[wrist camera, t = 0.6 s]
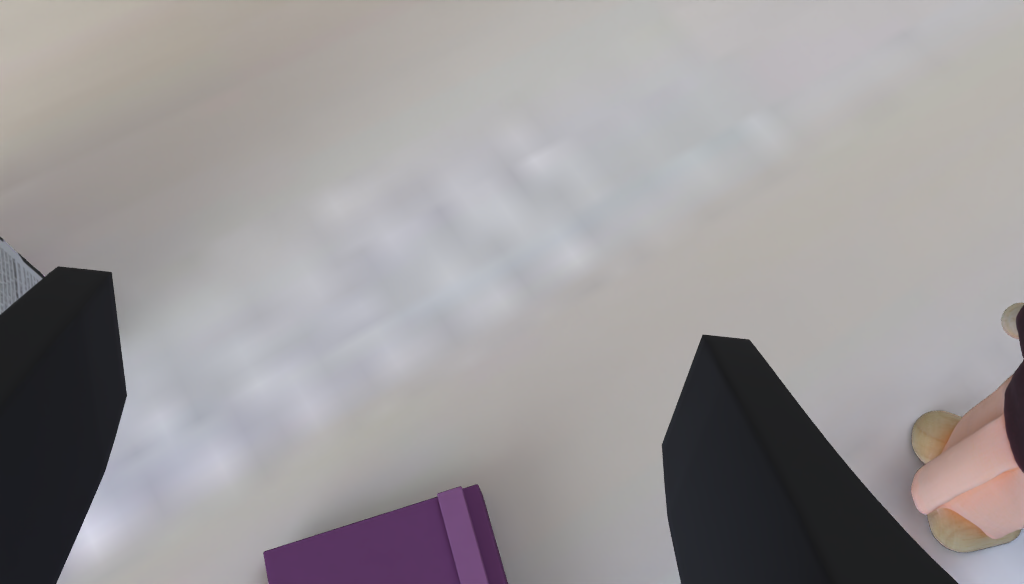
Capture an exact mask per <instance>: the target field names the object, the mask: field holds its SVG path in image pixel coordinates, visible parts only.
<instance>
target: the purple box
mask: <svg viewBox="0 0 1024 584" xmlns="http://www.w3.org/2000/svg"><path fill="white" fill-rule="evenodd" d="M437 496H438V497H435V498H432V499H429V500H426V501H422V502H419V503H416V504H413V505H410V506H407V507H403V508H400V509H397V510H394V511H391V512H388V513H384V514H381V515H378V516H375V517H372V518H369V519H365V520H362V521H359V522H356V523H353V524H350V525H346V526H343V527H340V528H337V529H334V530H331V531H328V532H324V533H321V534H318V535H315V536H312V537H309V538H305V539H302V540H299V541H296V542H293V543H290V544H286V545H283V546H280V547H277V548H274V549H271V550H267V551H265V552H264V553H263V554H264V559H265V565H266V571H267V577H268V582H269V584H508V582H507V578H506V575H505V571H504V568H503V564H502V561H501V557H500V554H499V550H498V547H497V543H496V540H495V537H494V533H493V530H492V526H491V523H490V519H489V516H488V512H487V509H486V505H485V502H484V498H483V495H482V492H481V490H480V488H479V486H478V484H476V485H473V486H470V487H467V488H463V489H462V487H461V486H460V487H457V488H453V489H450V490H447V491H444V492H441V493H438V494H437Z"/></svg>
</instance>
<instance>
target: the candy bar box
mask: <svg viewBox="0 0 1024 584" xmlns="http://www.w3.org/2000/svg"><path fill="white" fill-rule="evenodd" d="M43 278H44V276H43V275H42V274H41V273H40V272H39V271H38V270H37V269H36V268H35V267H33V266H32V265H31V264H30V263H29V262H28V261H27V260H26V259H25V258H23V257H22V256H21V255H20V254H19V253H17V252H16V251H15V250H14V249H13V248H12V247H11V246H10V245H9V244H8V243H7V242H6V241H5V240H4V239H2V238H1V237H0V314H1V313H3V312H4V311H5V310H6V309H7V308H8V307H10V306H11V305H12V304H13V303H14V302H16V301H17V300H18V299H19V298H20V297H21V296H23V295H24V294H25V293H26V292H27V291H28V290H30V289H31V288H32V287H33V286H34V285H35V284H37V283H38V282H39V281H40V280H42V279H43Z"/></svg>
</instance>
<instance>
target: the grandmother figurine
mask: <svg viewBox="0 0 1024 584" xmlns="http://www.w3.org/2000/svg"><path fill="white" fill-rule="evenodd" d="M1001 324H1002V327H1003V329H1004V331H1005V332H1006V333H1007V334H1008V335H1010V336H1011V337H1013V338H1016V339H1019V341H1020V346H1021V351H1022V356H1023V358H1024V303H1016V304H1013V305H1011V306H1010V307H1008V308H1007V309H1006V310H1005V311H1004V313H1003V315H1002V319H1001ZM912 446H913V449H914V451H915V453H916V454H917V456H918V457H919V459H920V460H921V461H922V462H924V463H925V465H923V466H922V467H921V468H920V469H919V470H918V471H917V472H916V474H915V476H914V479H913V482H912V487H911V493H912V497H913V501H914V503H915V505H916V508H917V509H918V510H919V511H920V512H921V513H923V514H925V515H927V516H928V521H929V526H930V529H931V531H932V533H933V535H934V537H935V538H936V539H937V540H938V541H939V542H940V543H941V544H942V545H943V546H944V547H946V548H948V549H950V550H953V551H956V552H972V551H976V550H981V549H985V548H989V547H992V546H997V545H1001V544H1005V543H1008V542H1010V541H1012V540H1014V539H1015V538H1017V537H1018V536H1019V534H1020V532H1021V529H1022V528H1024V360H1023V362H1022V363H1021V365H1020V366H1019V367H1018V369H1017V370H1016V371H1015V373H1014V374H1013V375H1012V376H1011V377H1009V378H1008V379H1007V380H1006V381H1005V382H1004V383H1003V384H1002V385H1001V386H1000V387H999V388H998V389H997V390H996V391H995V392H993V393H992V394H991V395H990V396H988V397H987V398H986V399H984V400H983V401H981V402H980V403H979V404H977V405H976V406H975V407H973V408H972V409H971V410H970V411H969V412H967V413H966V414H965V415H964V416H963V417H960V416H957V415H955V414H952V413H949V412H945V411H931V412H928V413H925V414H924V415H922V416H921V417H920V418H919V419H918V420H917V421H916V423H915V425H914V427H913V431H912Z"/></svg>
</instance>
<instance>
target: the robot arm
mask: <svg viewBox="0 0 1024 584" xmlns="http://www.w3.org/2000/svg"><path fill="white" fill-rule="evenodd" d="M126 397H127V393H126V385H125V376H124V368H123V360H122V352H121V344H120V336H119V328H118V320H117V311H116V303H115V295H114V287H113V279H112V272H106V271H96V270H87V269H77V268H68V267H57V268H55V269H54V270H53V271H51V272H50V273H49V274H48V275H46V276H45V277H44V278H43V279H42V280H40V281H39V282H38V283H37V284H35V285H34V286H33V287H32V288H31V289H30V290H28V291H27V292H26V293H25V294H24V295H23V296H21V297H20V298H19V299H18V300H17V301H16V302H14V303H13V304H12V305H11V306H10V307H8V308H7V309H6V310H5V311H4V312H3V313H1V314H0V584H56V583H57V580H58V578H59V576H60V574H61V571H62V569H63V567H64V565H65V562H66V560H67V558H68V556H69V553H70V551H71V549H72V546H73V544H74V542H75V540H76V537H77V535H78V533H79V531H80V528H81V526H82V524H83V521H84V519H85V517H86V514H87V512H88V510H89V508H90V505H91V503H92V501H93V498H94V496H95V494H96V491H97V489H98V487H99V484H100V482H101V479H102V477H103V475H104V472H105V470H106V467H107V463H108V460H109V457H110V453H111V450H112V447H113V443H114V440H115V437H116V433H117V429H118V426H119V422H120V419H121V415H122V411H123V408H124V404H125V400H126ZM662 453H663V468H664V483H665V494H666V505H667V516H668V522H669V527H670V532H671V537H672V542H673V546H674V551H675V556H676V561H677V566H678V570H679V575H680V580H681V584H958V583H957V582H956V581H955V580H954V579H953V578H952V577H951V576H950V575H949V574H948V573H947V572H946V571H945V570H944V569H943V568H942V567H941V566H940V565H939V564H937V563H936V562H935V561H934V560H933V559H932V558H931V557H930V556H929V555H928V554H927V553H926V552H925V551H924V550H923V549H922V548H921V547H920V546H919V545H918V543H917V542H916V541H915V540H914V539H913V538H912V537H911V536H910V535H909V534H908V533H907V532H906V531H905V530H904V529H903V528H902V527H901V525H900V524H899V523H898V522H897V521H896V520H895V519H894V518H893V517H892V516H891V514H890V513H889V512H888V511H887V510H886V509H885V508H884V507H883V506H882V505H881V503H880V502H879V501H878V500H877V499H876V498H875V497H874V496H873V495H872V493H871V492H870V491H869V490H868V489H867V488H866V486H865V485H864V484H863V483H862V482H861V481H860V479H859V478H858V477H857V476H856V475H855V474H854V472H853V471H852V470H851V469H850V468H849V466H848V465H847V464H846V463H845V462H844V460H843V459H842V458H841V457H840V456H839V454H838V453H837V452H836V451H835V449H834V448H833V447H832V446H831V444H830V443H829V442H828V441H827V440H826V438H825V437H824V436H823V434H822V433H821V432H820V431H819V429H818V428H817V427H816V426H815V424H814V423H813V422H812V421H811V419H810V418H809V417H808V415H807V414H806V413H805V411H804V410H803V409H802V408H801V406H800V405H799V404H798V402H797V401H796V400H795V398H794V397H793V396H792V395H791V393H790V392H789V391H788V389H787V388H786V387H785V385H784V384H783V383H782V381H781V380H780V379H779V377H778V376H777V375H776V373H775V372H774V371H773V369H772V368H771V367H770V366H769V364H768V363H767V362H766V360H765V359H764V358H763V356H762V355H761V354H760V352H759V351H758V350H757V349H756V347H755V346H754V345H753V344H752V342H751V341H750V340H748V339H739V338H729V337H720V336H711V335H702V338H701V341H700V343H699V346H698V349H697V351H696V354H695V357H694V360H693V362H692V365H691V368H690V370H689V373H688V376H687V378H686V381H685V384H684V387H683V389H682V392H681V395H680V397H679V400H678V403H677V406H676V408H675V411H674V414H673V416H672V419H671V422H670V424H669V427H668V430H667V433H666V435H665V438H664V441H663V443H662Z"/></svg>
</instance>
